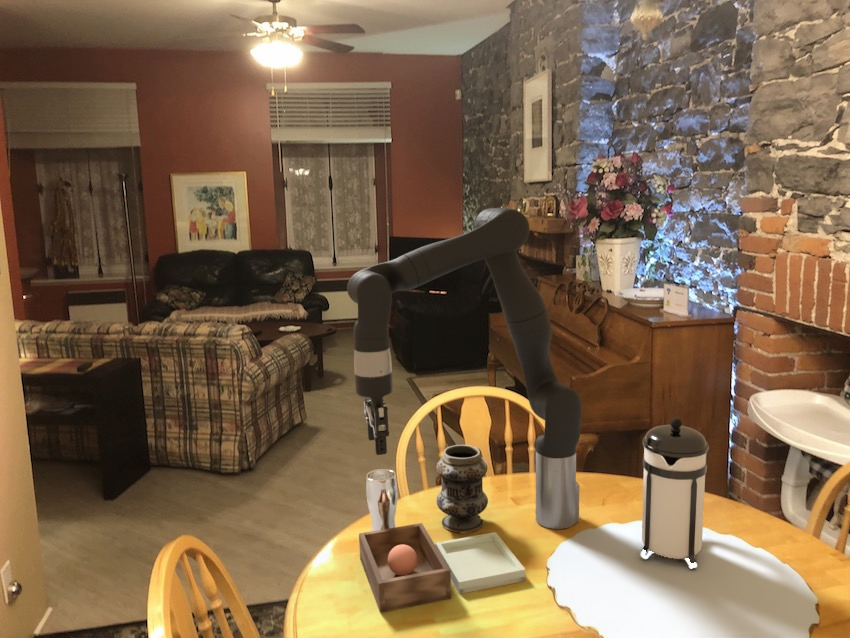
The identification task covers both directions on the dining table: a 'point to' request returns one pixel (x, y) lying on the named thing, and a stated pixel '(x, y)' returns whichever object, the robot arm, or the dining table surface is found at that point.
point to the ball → (402, 560)
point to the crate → (407, 590)
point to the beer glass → (382, 498)
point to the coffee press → (673, 490)
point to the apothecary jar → (462, 488)
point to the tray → (480, 562)
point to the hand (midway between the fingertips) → (377, 446)
